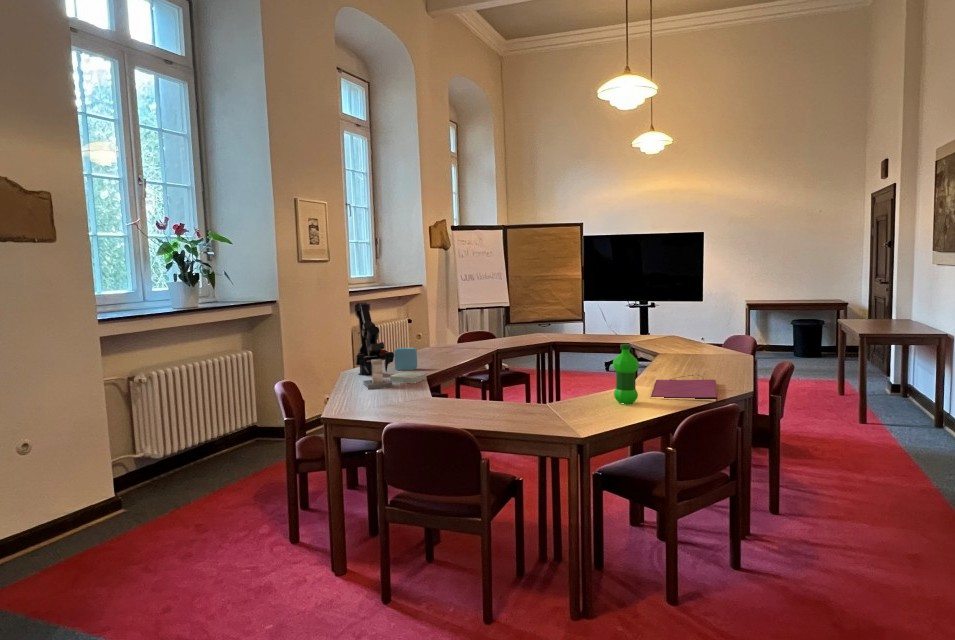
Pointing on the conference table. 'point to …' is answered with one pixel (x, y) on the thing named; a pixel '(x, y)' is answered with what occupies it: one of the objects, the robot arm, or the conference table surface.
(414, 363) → the light blue square slab
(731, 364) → the conference table surface
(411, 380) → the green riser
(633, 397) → the plastic bottle
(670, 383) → the maroon hardcover notebook
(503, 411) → the conference table surface
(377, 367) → the cream block
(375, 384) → the pocket holder
